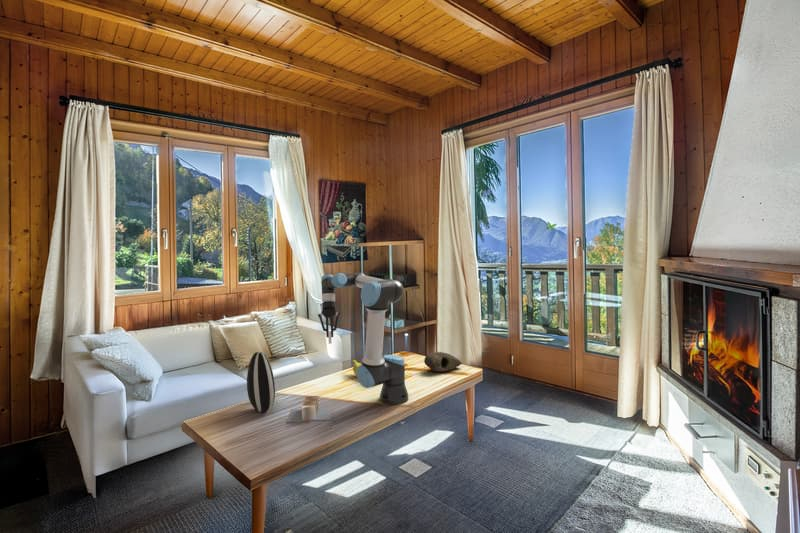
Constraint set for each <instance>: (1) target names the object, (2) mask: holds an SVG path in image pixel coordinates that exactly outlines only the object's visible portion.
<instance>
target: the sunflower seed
mask: <svg viewBox="0 0 800 533" xmlns="http://www.w3.org/2000/svg"><path fill="white" fill-rule="evenodd" d="M246 374H247V375H246V390H247V396H248V400H249V403H250V404H251V406H252V407H253V409H254V410H256V411H257V412H259V413H267V412H270V410H271V409H272V408H273V405H274V403H275V398H276V385H275V384H276V383H275V377H274V371H273V368H272V365H271V363H270V360H269V357H268V356H267V355H266V354H265V352H262V351H256V352H254V353H253V354H252V356H251V358H250V361H249V365H248V368H247V373H246Z"/></svg>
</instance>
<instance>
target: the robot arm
mask: <svg viewBox="0 0 800 533" xmlns="http://www.w3.org/2000/svg"><path fill="white" fill-rule="evenodd" d="M320 282H321V283H320V284H321V302H322V303H321V309H322V310H321V312H320V313H318V314H317V317H318V318H319V320H320V324H321V328H322V330H323V331H324V332H326V338H327V339H328V344H333V343H332V338H334V332H335V331H337V328H338V323H339V318H340V316H341V312H338V311H337V309H336V290H337V289H339V288H350V287H356V288H360V289H361V290H360V291H361V292H360V300H361V303H362V304H363V306H364V308H365V309H366V311H367V317H366V318H367V319H366V335H365V336H366V338H365V351H364V354H365V355H364V356H363V357H362V359H361V364H362V365H359V366H358V367H357V370H356V374H357V376H356V377H357V380H358V382H359V383H360V385H361V386H362V387H364V388H366V389H369V388H375V387H377V386H380V385H382V387H381V390H380V393H379V401H380V402H381V403H383V404H386V405H401V404H404V403H406V402H407V401H409V393H408V390H407V386H406V381H405V380H406V378H405V374H406V373H405V372H406V371H405V370H406V369H405V367H406V364H405V358H404V357H403V356H400V355H397V354H396V355H395V354H385V355H384V354H383V351H384V350H383V348H384V337H385V336H384V332H385V321H386V320H385V319H386V318H385V317H386V312H387V311H388V310H389V308H390V307H389V305H390V304H393V303H396V302H398V301H400V300H401V299H402V298H403V296H404V288H405V287H404V285H403V284H402V282H400V281H399V280H397V279H391V278H388V279H383V278H380V277H379V278H378V277H375V276H369V275H366V274H364V273H363V272H356V273H345V274H344V273H343V272H342V273H341V272H339V273H338V272H337V273H336V274H334V275H333V274H325V275H322V276H321V281H320ZM335 316H336V317H335ZM323 317H324V318H325V323H324V319H323ZM334 317H335V323H334V319H333V318H334ZM329 319H330V320H329ZM329 321H330V330H329Z"/></svg>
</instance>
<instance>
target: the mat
mask: <svg viewBox="0 0 800 533" xmlns="http://www.w3.org/2000/svg"><path fill="white" fill-rule="evenodd" d="M332 410H333V407H318V411H317V414H316V418H315V419H312V420H302V408H299V409H298V408H296V409H291V411H290V413H289V415H288V418H287V420H286V423H300V422H301V423H303V422H319V421H330V420H331V417H332V412H333V411H332Z"/></svg>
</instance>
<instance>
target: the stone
mask: <svg viewBox="0 0 800 533" xmlns="http://www.w3.org/2000/svg"><path fill="white" fill-rule="evenodd" d="M423 362H424V364H425V365H426V367H427V368H428V369H430V371H432V372H437V373H445V372H446V371H451V370H453V369H456V368H458V367H459V366H461V365H463V364H462V362H461V360H459V359H458V358H457V357H455V356H454V355H452V354H449V353H447V352H443V351H437V352H431V353H428V354H426V355H425V357H424V360H423Z"/></svg>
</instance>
